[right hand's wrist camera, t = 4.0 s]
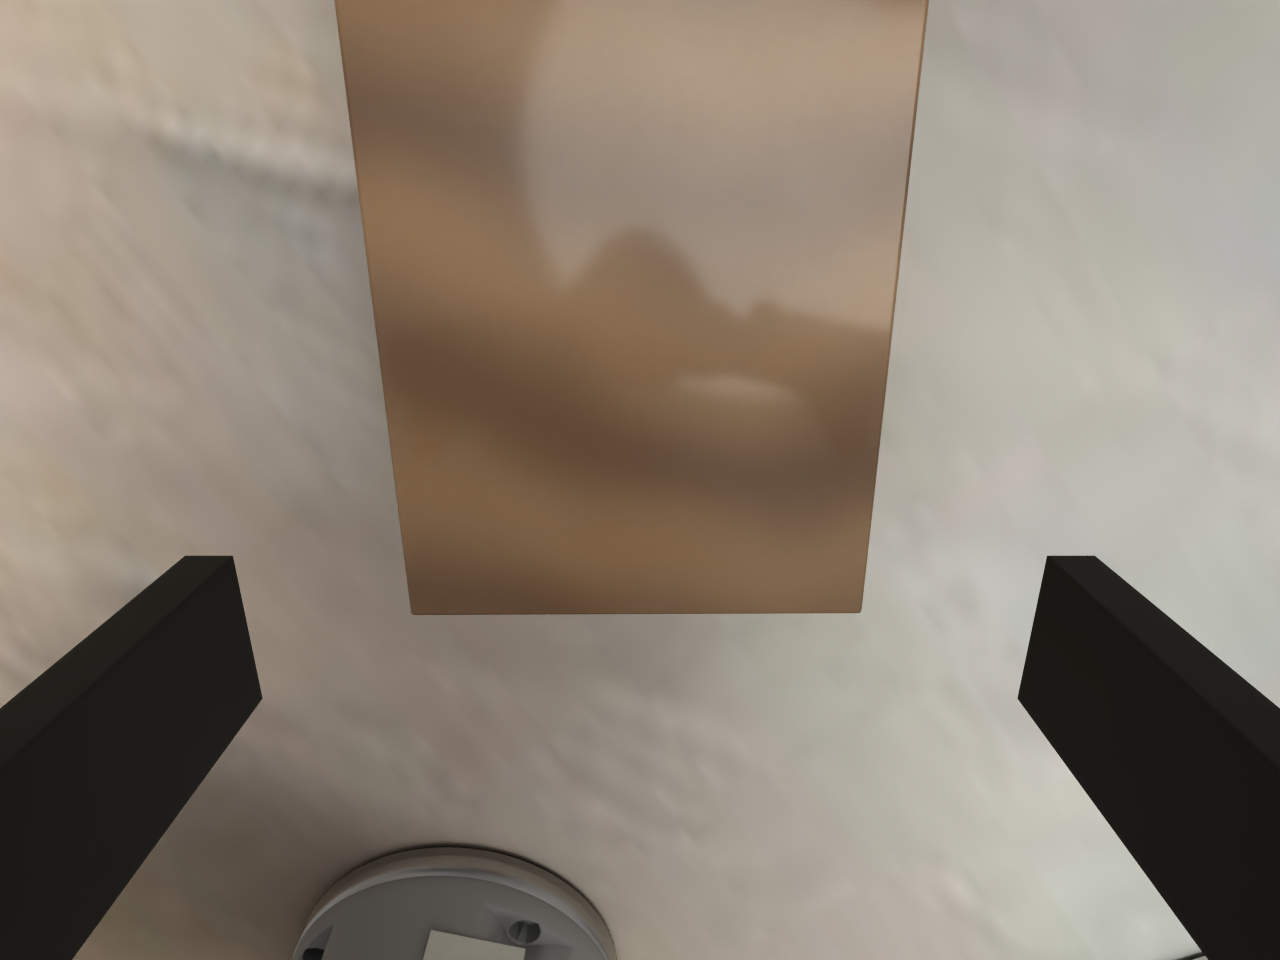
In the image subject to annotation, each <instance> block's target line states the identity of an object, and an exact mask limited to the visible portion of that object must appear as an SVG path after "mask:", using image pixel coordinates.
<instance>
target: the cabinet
mask: <svg viewBox="0 0 1280 960" xmlns="http://www.w3.org/2000/svg"><path fill="white" fill-rule="evenodd" d="M928 3H929V0H335V8H336V16H337V24H338V32H339V40H340V48H341V56H342V64H343V72H344V80H345V88H346V96H347V104H348V112H349V120H350V128H351V136H352V144H353V152H354V160H355V168H356V176H357V184H358V192H359V200H360V208H361V216H362V224H363V232H364V240H365V247H366V255H367V263H368V271H369V279H370V287H371V295H372V303H373V311H374V319H375V327H376V335H377V343H378V351H379V359H380V367H381V375H382V383H383V391H384V399H385V407H386V415H387V423H388V431H389V439H390V447H391V455H392V463H393V471H394V479H395V487H396V495H397V503H398V511H399V519H400V527H401V535H402V543H403V551H404V559H405V567H406V575H407V583H408V591H409V599H410V607H411V613H412V614H413V615H489V614H738V613H860V612H861V609H862V600H863V591H864V582H865V573H866V564H867V555H868V546H869V537H870V528H871V519H872V510H873V501H874V492H875V483H876V474H877V465H878V456H879V447H880V438H881V428H882V419H883V410H884V401H885V392H886V383H887V374H888V365H889V356H890V347H891V338H892V329H893V320H894V311H895V302H896V293H897V284H898V275H899V266H900V257H901V247H902V238H903V229H904V220H905V211H906V202H907V193H908V184H909V175H910V166H911V157H912V148H913V139H914V130H915V121H916V112H917V103H918V94H919V85H920V76H921V66H922V57H923V48H924V39H925V30H926V21H927V12H928Z"/></svg>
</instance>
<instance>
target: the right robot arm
mask: <svg viewBox="0 0 1280 960" xmlns="http://www.w3.org/2000/svg"><path fill="white" fill-rule="evenodd" d="M261 700H262V694H261V689H260V685H259V680H258V675H257V670H256V665H255V661H254V656H253V651H252V646H251V641H250V636H249V632H248V627H247V622H246V617H245V612H244V608H243V603H242V598H241V593H240V588H239V583H238V579H237V574H236V569H235V564H234V559H233V556H184V557H183V558H182V559H181V560H180V561H178V562H177V563H176V564H175V565H174V566H172V567H171V568H170V569H169V570H167V571H166V572H165V573H164V574H163V575H161V576H160V577H159V578H158V579H157V580H155V581H154V582H153V583H152V584H151V585H149V586H148V587H147V588H146V589H144V590H143V591H142V592H141V593H140V594H138V595H137V596H136V597H135V598H134V599H132V600H131V601H130V602H129V603H128V604H126V605H125V606H124V607H123V608H121V609H120V610H119V611H118V612H117V613H115V614H114V615H113V616H112V617H111V618H109V619H108V620H107V621H106V622H104V623H103V624H102V625H101V626H100V627H98V628H97V629H96V630H95V631H94V632H92V633H91V634H90V635H89V636H88V637H86V638H85V639H84V640H83V641H81V642H80V643H79V644H78V645H77V646H75V647H74V648H73V649H72V650H71V651H69V652H68V653H67V654H66V655H65V656H63V657H62V658H61V659H60V660H58V661H57V662H56V663H55V664H54V665H52V666H51V667H50V668H49V669H48V670H46V671H45V672H44V673H43V674H41V675H40V676H39V677H38V678H37V679H35V680H34V681H33V682H32V683H31V684H29V685H28V686H27V687H26V688H25V689H23V690H22V691H21V692H20V693H18V694H17V695H16V696H15V697H14V698H12V699H11V700H10V701H9V702H8V703H6V704H5V705H4V706H3V707H1V708H0V960H72V959H73V958H74V956H75V955H76V953H77V952H78V951H79V949H80V948H81V947H82V945H83V944H84V942H85V941H86V940H87V938H88V937H89V936H90V934H91V933H92V931H93V930H94V929H95V927H96V926H97V925H98V923H99V922H100V921H101V919H102V918H103V916H104V915H105V914H106V912H107V911H108V910H109V908H110V907H111V905H112V904H113V903H114V901H115V900H116V899H117V897H118V896H119V894H120V893H121V892H122V890H123V889H124V888H125V886H126V885H127V883H128V882H129V881H130V879H131V878H132V877H133V875H134V874H135V872H136V871H137V870H138V868H139V867H140V866H141V864H142V863H143V862H144V860H145V859H146V857H147V856H148V855H149V853H150V852H151V851H152V849H153V848H154V846H155V845H156V844H157V842H158V841H159V840H160V838H161V837H162V835H163V834H164V833H165V831H166V830H167V829H168V827H169V826H170V824H171V823H172V822H173V820H174V819H175V818H176V816H177V815H178V814H179V812H180V811H181V809H182V808H183V807H184V805H185V804H186V803H187V801H188V800H189V798H190V797H191V796H192V794H193V793H194V792H195V790H196V789H197V787H198V786H199V785H200V783H201V782H202V781H203V779H204V778H205V776H206V775H207V774H208V772H209V771H210V770H211V768H212V767H213V766H214V764H215V763H216V761H217V760H218V759H219V757H220V756H221V755H222V753H223V752H224V750H225V749H226V748H227V746H228V745H229V744H230V742H231V741H232V739H233V738H234V737H235V735H236V734H237V733H238V731H239V730H240V728H241V727H242V726H243V724H244V723H245V722H246V720H247V719H248V718H249V716H250V715H251V713H252V712H253V711H254V709H255V708H256V707H257V705H258V704H259V702H260V701H261ZM1018 700H1019V701H1020V702H1021V704H1022V705H1023V707H1024V708H1025V709H1026V711H1027V712H1028V713H1029V715H1030V716H1031V718H1032V719H1033V720H1034V722H1035V723H1036V724H1037V726H1038V727H1039V728H1040V730H1041V731H1042V733H1043V734H1044V735H1045V737H1046V738H1047V739H1048V741H1049V742H1050V744H1051V745H1052V746H1053V748H1054V749H1055V750H1056V752H1057V753H1058V755H1059V756H1060V757H1061V759H1062V760H1063V761H1064V763H1065V764H1066V766H1067V767H1068V768H1069V770H1070V771H1071V772H1072V774H1073V775H1074V776H1075V778H1076V779H1077V781H1078V782H1079V783H1080V785H1081V786H1082V787H1083V789H1084V790H1085V792H1086V793H1087V794H1088V796H1089V797H1090V798H1091V800H1092V801H1093V803H1094V804H1095V805H1096V807H1097V808H1098V809H1099V811H1100V812H1101V814H1102V815H1103V816H1104V818H1105V819H1106V820H1107V822H1108V823H1109V824H1110V826H1111V827H1112V829H1113V830H1114V831H1115V833H1116V834H1117V835H1118V837H1119V838H1120V840H1121V841H1122V842H1123V844H1124V845H1125V846H1126V848H1127V849H1128V851H1129V852H1130V853H1131V855H1132V856H1133V857H1134V859H1135V860H1136V862H1137V863H1138V864H1139V866H1140V867H1141V868H1142V870H1143V871H1144V873H1145V874H1146V875H1147V877H1148V878H1149V879H1150V881H1151V882H1152V883H1153V885H1154V886H1155V888H1156V889H1157V890H1158V892H1159V893H1160V894H1161V896H1162V897H1163V899H1164V900H1165V901H1166V903H1167V904H1168V905H1169V907H1170V908H1171V910H1172V911H1173V912H1174V914H1175V915H1176V916H1177V918H1178V919H1179V921H1180V922H1181V923H1182V925H1183V926H1184V927H1185V929H1186V930H1187V931H1188V933H1189V934H1190V936H1191V937H1192V938H1193V940H1194V941H1195V942H1196V944H1197V945H1198V947H1199V948H1200V949H1201V951H1202V952H1203V953H1204V955H1205V956H1206V958H1207V959H1208V960H1280V708H1279V707H1277V706H1276V705H1275V704H1274V703H1272V702H1271V701H1270V700H1269V699H1268V698H1266V697H1265V696H1264V695H1263V694H1262V693H1260V692H1259V691H1258V690H1257V689H1255V688H1254V687H1253V686H1252V685H1251V684H1249V683H1248V682H1247V681H1246V680H1245V679H1243V678H1242V677H1241V676H1240V675H1239V674H1237V673H1236V672H1235V671H1234V670H1232V669H1231V668H1230V667H1229V666H1228V665H1226V664H1225V663H1224V662H1223V661H1222V660H1220V659H1219V658H1218V657H1217V656H1215V655H1214V654H1213V653H1212V652H1211V651H1209V650H1208V649H1207V648H1206V647H1205V646H1203V645H1202V644H1201V643H1200V642H1199V641H1197V640H1196V639H1195V638H1194V637H1192V636H1191V635H1190V634H1189V633H1188V632H1186V631H1185V630H1184V629H1183V628H1182V627H1180V626H1179V625H1178V624H1177V623H1176V622H1174V621H1173V620H1172V619H1171V618H1169V617H1168V616H1167V615H1166V614H1165V613H1163V612H1162V611H1161V610H1160V609H1159V608H1157V607H1156V606H1155V605H1154V604H1152V603H1151V602H1150V601H1149V600H1148V599H1146V598H1145V597H1144V596H1143V595H1142V594H1140V593H1139V592H1138V591H1137V590H1136V589H1134V588H1133V587H1132V586H1131V585H1129V584H1128V583H1127V582H1126V581H1125V580H1123V579H1122V578H1121V577H1120V576H1119V575H1117V574H1116V573H1115V572H1114V571H1113V570H1111V569H1110V568H1109V567H1108V566H1106V565H1105V564H1104V563H1103V562H1102V561H1100V560H1099V559H1098V558H1097V557H1096V556H1047V559H1046V564H1045V569H1044V574H1043V579H1042V583H1041V588H1040V593H1039V598H1038V603H1037V608H1036V612H1035V617H1034V622H1033V627H1032V632H1031V636H1030V641H1029V646H1028V651H1027V656H1026V660H1025V665H1024V670H1023V675H1022V680H1021V685H1020V689H1019V694H1018ZM292 960H617V958H616V953H615V948H614V944H613V942H612V939H611V936H610V934H609V932H608V930H607V928H606V925H605V924H604V922H603V921H602V919H601V918H600V916H599V914H598V913H597V912H596V911H595V910H594V908H593V907H592V906H591V905H590V904H589V903H588V902H587V901H586V900H585V899H584V898H583V897H582V896H581V895H580V894H579V893H578V892H577V891H576V890H574V889H573V888H572V887H571V886H569V885H568V884H566V883H565V882H564V881H562V880H561V879H559V878H558V877H556V876H554V875H552V874H551V873H549V872H547V871H545V870H543V869H541V868H539V867H537V866H535V865H532V864H530V863H527V862H525V861H522V860H519V859H517V858H514V857H510V856H506V855H503V854H499V853H494V852H489V851H485V850H478V849H470V848H455V847H439V848H425V849H416V850H410V851H405V852H400V853H396V854H392V855H389V856H385V857H383V858H380V859H377V860H374V861H372V862H370V863H367V864H365V865H363V866H361V867H359V868H357V869H356V870H354V871H352V872H350V873H349V874H347V875H346V876H344V877H343V878H342V879H340V880H339V881H338V882H336V883H335V884H334V885H333V886H332V887H331V888H330V889H329V890H328V891H327V892H326V893H325V894H324V895H323V897H322V898H321V899H320V900H319V901H318V903H317V904H316V906H315V908H314V909H313V911H312V913H311V915H310V917H309V919H308V921H307V924H306V926H305V928H304V930H303V932H302V935H301V937H300V939H299V941H298V944H297V946H296V948H295V950H294V954H293V957H292Z"/></svg>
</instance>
